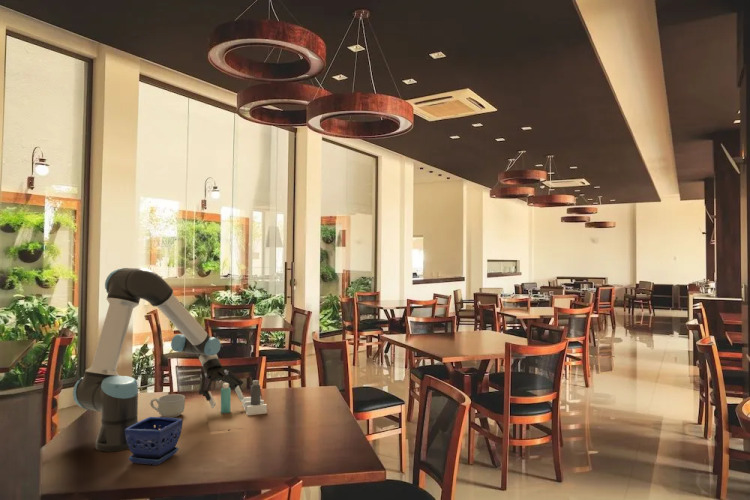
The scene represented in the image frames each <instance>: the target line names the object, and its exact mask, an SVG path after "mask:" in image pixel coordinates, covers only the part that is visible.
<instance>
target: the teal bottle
mask: <svg viewBox="0 0 750 500" xmlns="http://www.w3.org/2000/svg"><path fill="white" fill-rule="evenodd" d="M231 391H232V389H231V387H230V384H229V383H227V382H224V383H222V388H220V413H221V414H230V413H231V405H232V404H231V400H232V399H231V397H232V396H231V395H232V394H231Z"/></svg>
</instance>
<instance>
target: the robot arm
mask: <svg viewBox="0 0 750 500" xmlns="http://www.w3.org/2000/svg"><path fill="white" fill-rule="evenodd" d="M104 288H105V291H106V293H107V296H106V300H107V302H108V304H109V305H108V307H107V311H106V314H105V318H104V322H103V325H102V329H101V331H100V336H99V338H98V343H97V345H96V349H95V353H94V356H93V360H92V362H91V365H90V367H89V368H87V369H85V371H84V374H83V377H81V378H80V379H79V380H77V381H76V383H74V386H73V389H72V397H73V398H72V399H73V401H74V402H75V404H76V405H78V407H80V408H81V409H82V408H83V409H85V410H87V411H95V412H98V413H99V412H100V413H101V417H100V419H101V420H100V421H101V422H100V423H101V425H100V427H99V431H98V434H97V436H96V440H95V449H96V451H99V452H100V451H101V452H106V453H108V452H109V453H111V452H119V451H120V452H121V451H126V450H130V449H129V446H128V444H127V441H126V436H125V429H126V428H128V427H130V426H132V425H134V424H136V423H138V422H139V420H138V415H139V414H138V410H139V409H138V406H139V405H138V400H139V399H138V398H139V396H138V395H139V387H138V386H139V385H138V380H137V379H136V378H135V377H132V376H128V375H120V374H119V373H118V371H117V369H118V365H119V361H120V358H121V354H122V350H123V346H124V343H125V339H126V335H127V332H128V328H129V324H130V321H131V319H132V318H131V317H132V314H133V310H134V308H136V307H138V306H139V305H140V301H141V299H142V300H144V301H147V302H148V303H149V304H150V305H151V306H152V307H157V309H159V311H161V312H162V314H163V315H164V316H165V317H166V318H167V319H168V320H169V321H170V322H171V323H172V324H173V325H174V327H176V329H178V331H179V332H180V333H181V334H179V333H178V334H175V335H174V336H173V337H172V339H171V343H170V347H171V349H172V351H174V352H178V353H185V354H193V355H194V354H195V355H197V357H198V359H199V362H200V364H201V366H202V369H203V371H204V372H203V371H202V372H201V373H200V375H199V380H200V382H199V390H198V394H199V396H200V395H202V396H203V397H205V399H206V401H207V402H209V404H210V407H211V409H214V408H215V406H216V401H215V399H214V397H213V394H212V391H209V389H210V387H211V385H212V383H216V382H221V381H222V382H224V383H229V386H231V387H233V388H234V390H235V393H236V395H237V398H238V399H239V402H242V401H243V399H244V397H245V396H244V393H243V392H244V391H243V388H242V386H243V384H244V381H243V380H241V378H239V377H238V376H237V375H236V374H235V373H234V372H233V371H232V370H231V369H230V367H227V369H223V367H222V366H223V365H222V363H221V361H220V359H219V357H218V353H219V352H220V350H221V345H222V343H221V341H220V340H219V339H218V337H217V338H216V337H214V336H210V335H209V334H208V333H207V331H206V330H205V328H203V327H202V325H201V324H200V323H199V322H198V320H197V319H195V318H194V316H193V315H192V314H191V312H190V311H188V309H187V308H186V307H185V306H184V305H183V304H182V303H181V301H179V300H178V298H177V297H176V296H175V295H174V289H173V288H172V286H170V285H169V284H168V282H166V281H165V280H164V278H163V277H162V276H160V275H159V274H158V273H156V272H155V271H153V270H152V269H148V268H145V267H144V268H143V267H142V268H141V267H139V268H133V267H132V268H131V267H129V268H128V267H123V268H117V269H115V270H113V271H111V272H110V273H109V274H108V275H107V277H106V279H105V282H104ZM206 378H207V379H209V380H208V381H207V385H206V386H205V384H206V383H205V382H206ZM137 441H138V440H137Z"/></svg>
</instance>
